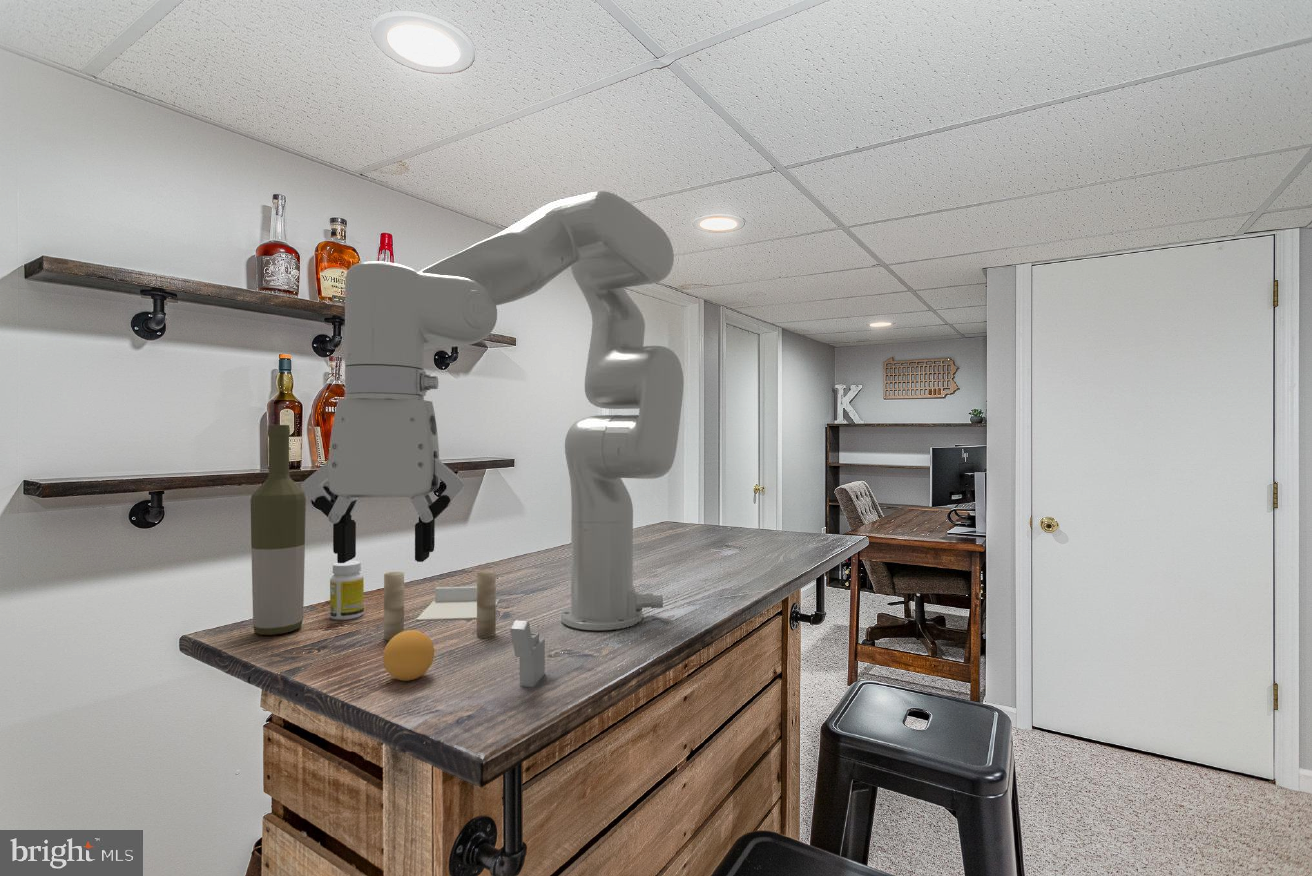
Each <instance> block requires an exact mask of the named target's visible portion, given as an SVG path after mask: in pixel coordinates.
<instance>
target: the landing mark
mask: <svg viewBox="0 0 1312 876" xmlns="http://www.w3.org/2000/svg"><path fill="white" fill-rule="evenodd" d="M499 602H500V599H499V598H498V599H497V598H496V606H497V605H498V603H499ZM415 619H416V621H432V620H433V621H436V620H437V621H438V620H439V621H440V620H472V619H474V620H475V619H476V620H477V601H469V602H435V600H433V601H432V602H431V603H430V604H429V605H428V606H427V607H426V608H425V609H424V610H423V611H422V612H421V613H420V614H419V616H418V617H416V618H415Z"/></svg>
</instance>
